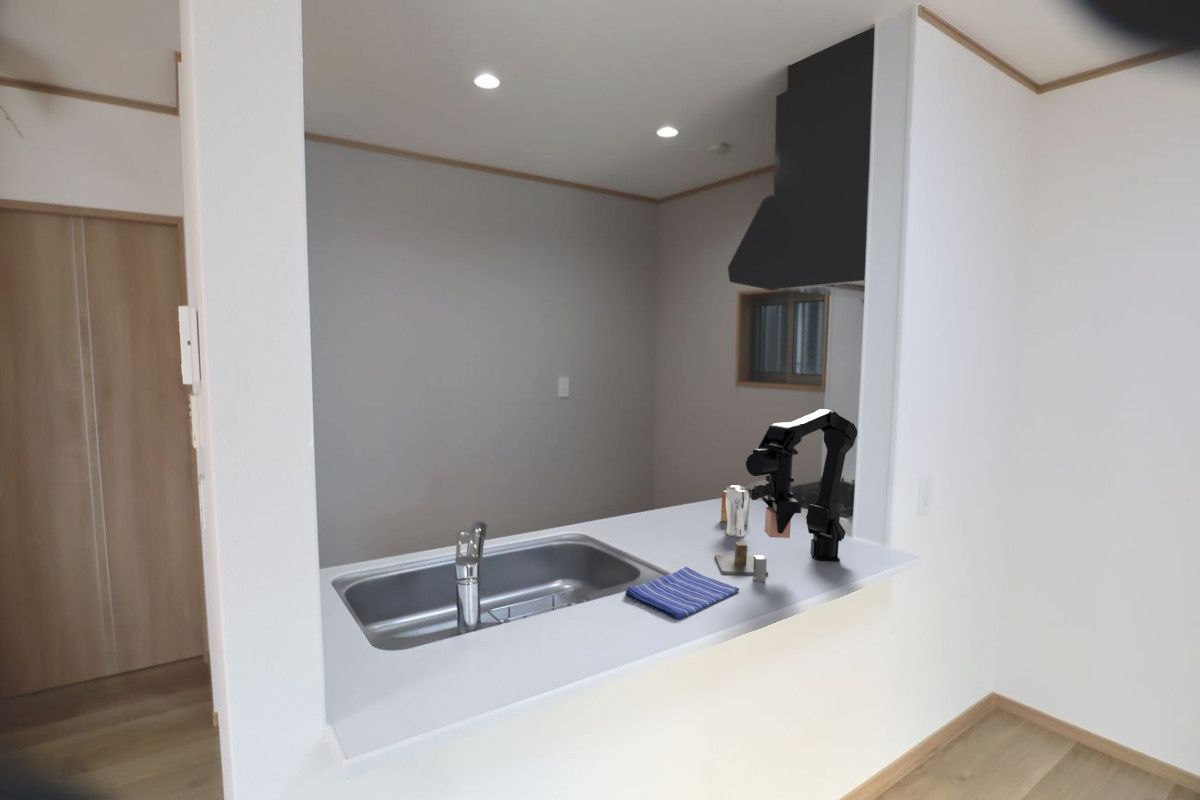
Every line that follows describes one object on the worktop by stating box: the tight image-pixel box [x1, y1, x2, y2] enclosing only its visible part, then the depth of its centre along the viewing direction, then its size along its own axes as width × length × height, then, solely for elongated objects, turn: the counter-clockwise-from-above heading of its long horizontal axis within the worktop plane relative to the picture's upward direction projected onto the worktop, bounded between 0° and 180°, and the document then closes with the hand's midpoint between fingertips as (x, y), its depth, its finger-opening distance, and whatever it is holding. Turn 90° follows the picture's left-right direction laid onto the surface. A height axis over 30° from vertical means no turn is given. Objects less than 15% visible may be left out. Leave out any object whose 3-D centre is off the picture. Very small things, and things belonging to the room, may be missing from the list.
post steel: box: [752, 554, 768, 583], centre depth 151 cm, size 3×3×6 cm
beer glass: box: [725, 485, 748, 538], centre depth 186 cm, size 7×7×15 cm
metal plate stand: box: [714, 541, 769, 576], centre depth 160 cm, size 12×12×6 cm
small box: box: [720, 489, 751, 527], centre depth 198 cm, size 8×6×10 cm
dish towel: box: [624, 566, 740, 620], centre depth 142 cm, size 17×24×3 cm
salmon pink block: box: [764, 506, 792, 539], centre depth 155 cm, size 5×5×7 cm
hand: (777, 529), depth 155 cm, fingers closed on salmon pink block, 5 cm apart
